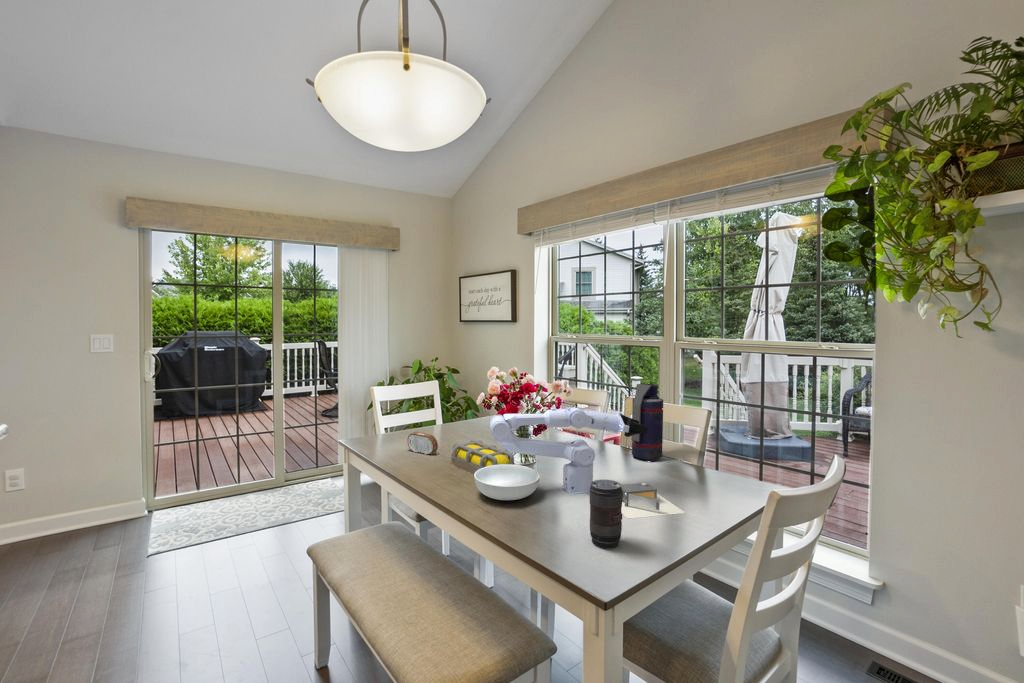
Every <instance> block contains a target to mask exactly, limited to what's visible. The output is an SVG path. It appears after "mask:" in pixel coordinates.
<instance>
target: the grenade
mask: <svg viewBox="0 0 1024 683" xmlns="http://www.w3.org/2000/svg"><path fill="white" fill-rule="evenodd" d="M658 389H659V386H658V385H657V384H650V383H649V384H647V383H637V384H636V386H635V387H633V389H632V390H631V395H632V396H633V398H632V402H631V403H632V404H631V406H632V408H631V409H632V410H631V411H632V413H631V418H632V419H635V420H637V421H639V424H641V425H645V426H647V427H648V429H647V433H645V434H635V435H632V436H631V441H632V442H631V455H632V458H633V459H636V458H638V459H640V460H645V462H646V461H652V462H653V461H654V460H655V461H656V460H661V459H662V458H663V440H664V439H663V435H664V433H663V432H664V399H663V398H660V396H658ZM634 390H635V394H633V392H634ZM660 458H661V459H660Z"/></svg>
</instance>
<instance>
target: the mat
mask: <svg viewBox="0 0 1024 683" xmlns="http://www.w3.org/2000/svg"><path fill="white" fill-rule="evenodd" d="M657 499H660V512H655V511H650V510H645V509H641V508H636V507H631V506H625V504H624V503H622V504H623V505H622V507H621V513H622V515H623V516H625V517H626V519H639V518H641V519H642V518H648V517H649V518H650V517H651V518H652V517H659V516H668V515H677V514H680V515H681V514H686V512H685V511H684V510H682V509H681V508H680V507H678V506H676V505H675V504H673V503H672V502H671V501H669V500H668V499H666V498H664V497H663V496H661V494H659V493H657Z"/></svg>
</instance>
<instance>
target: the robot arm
mask: <svg viewBox="0 0 1024 683" xmlns="http://www.w3.org/2000/svg"><path fill="white" fill-rule="evenodd" d="M488 424H489V429H490V434H491V437H492V438H493V439H494V442H495V443H497V444H499V445H500V446H501V447H503V448H504V449H505V450H507V451H509V452H511V453H512V454H520V455H521V454H522V455H531V456H540V457H548V458H549V457H552V458H559V459H560V458H561V459H565V460H568V461H570V462H568V463H565V464H563V468H562V486H561V487H562V488H563V489H564V490H565V491H566V492H567V493H568V494H569V495H583V494H590V486H591V482H593V481H594V461H595V459H596V458H595V457H596V454H595V451H594V449H593V448H592V447H591V446H589V445H588V443H587V441H585V439H581V438H580V439H575V440H572V441H571V440H565V441H556V440H555V441H554V440H548V439H547V440H546V439H536V438H526V437H525V438H524V437H518V436H517V435H516V434H515V432H516V431H517V430H518V429H519V428H520V427H521V426H534V425H545V427H547V428H563V427H564V428H568V427H571V426H572V427H573V428H576V429H578V430H579V429H580V430H581V429H583V428H588V429H592V430H598V431H606V432H612V433H616V434H618V433H624V437H626V438H629V437H632V435H635V434H645V433H647V429H648V427H647V426H645V425H641V424H639V421H637V420H635V419H632V417H630V416H629V417H628V416H626V415H624V414H622V413H621V411H619V410H617V411H616V413H610V412H601V411H596V410H595V411H594V410H585V409H582V410H581V409H580V408H578V407H574V406H571V407H566V408H561V409H560V408H558V409H557V408H555V407H551V408H550V409H547V410H546V411H545V412H544V413H504V414H503V415H502V414H496V415H494V416H491V418H490V420H489V422H488Z"/></svg>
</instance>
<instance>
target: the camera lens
mask: <svg viewBox="0 0 1024 683" xmlns="http://www.w3.org/2000/svg"><path fill="white" fill-rule="evenodd" d="M621 485H622V484H621V483H620V482H619V481H617V480H612V479H596V480H593V482H591V486H590V493H589V508H590V509H589V531H590V532H589V533H590V534H589V535H590V538H591V542H592V545H594V546H595V547H597V548H601V549H607V550H608V549H609V550H610V549H614V548H617V547H618V546H619V544H620V540H621V538H622V532H623V525H622V524H623V523H622V522H623V514H622V513H621V507H622V488H621Z"/></svg>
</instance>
